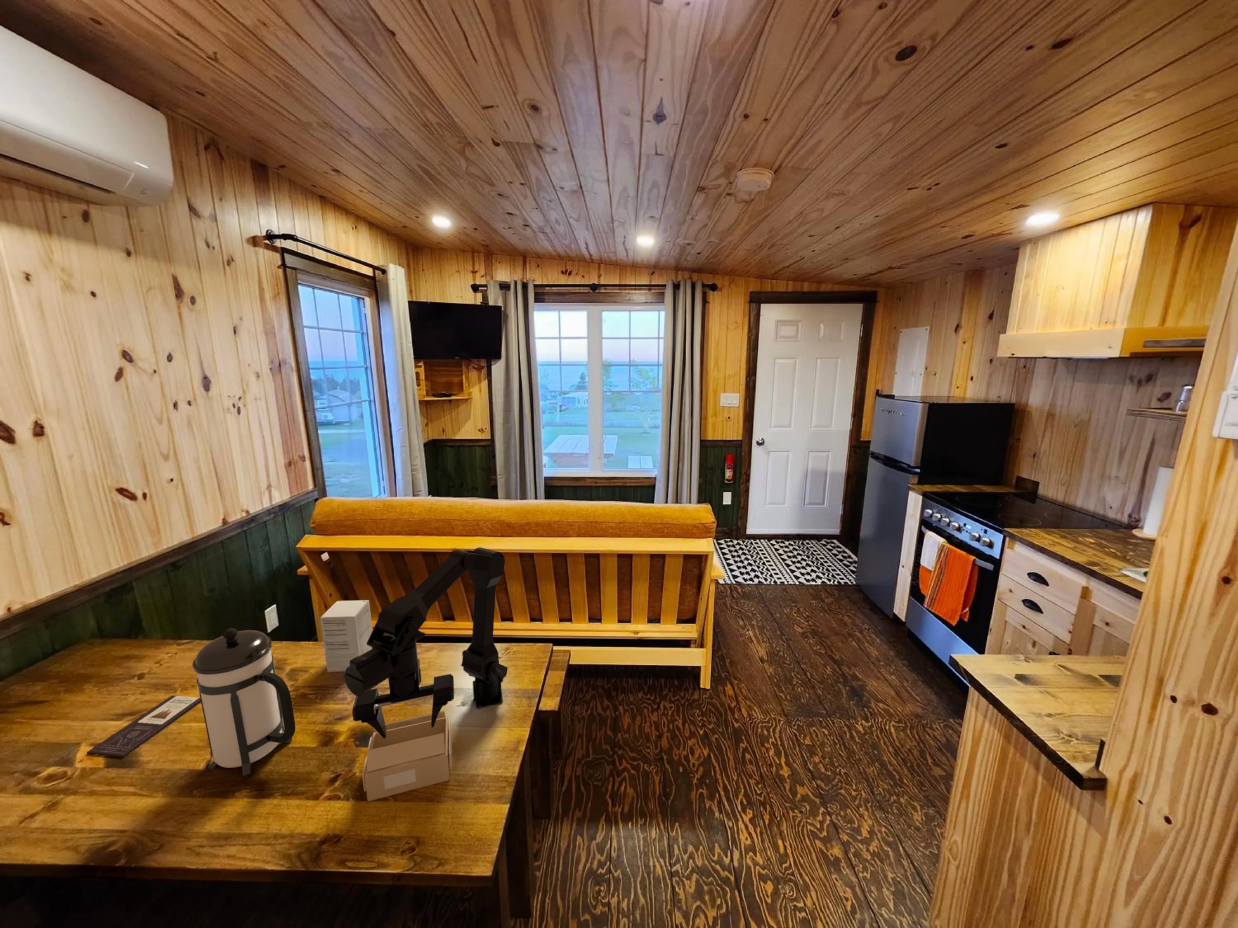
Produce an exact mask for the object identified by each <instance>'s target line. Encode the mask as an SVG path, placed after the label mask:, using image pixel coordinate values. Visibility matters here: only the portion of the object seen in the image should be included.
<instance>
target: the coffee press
mask: <svg viewBox="0 0 1238 928" xmlns="http://www.w3.org/2000/svg"><path fill="white" fill-rule="evenodd" d="M272 647H273V641H272V639H271V637H270V636H267V635H266V634H265V633H264V632H262V631H259V630H253V629H251V630H250V629H246V630H240V631H239V630H237V629H236V628H234V627H233V628H232V627H231V628H227V629H226V630H225V631H224V632H223V635H221V636H219V637H217V638H215V639H213V640H211V641H209V642H208V643H206V644H205V645H204V646H202V647H201V649H200V650H199V651H198V652H197V654H196V656H195V658H194V659H193V661H192V670H193V671H194V672H195V673H196V676H197V678H196V685H197V688H198V693H199V698H200V699H201V709H202V712H203V718H204V719H203V720H204V723H205V728H206V733H207V739H208V744H209V748H210V749H209V750H210V755H211V756H210V757H209V758H208V760H207V762H206V765H205V768H206V769H207V770H212V769H214V768H216V766H217V765H218V766H220V767H223V768H228V769H229V768H231V769H232V768H238V767H241V768H242V770H241V771H242V774H241V775H242V778H243V779H245V778H247V777H250V776H252V775H253V763H255V762H256V761H259V760H261V759H262V758H264V757H265V756H266V755H267V756H268V754H270V752H272V751H273V750H274V749H275V748H276V747H277V746H278V745H279V744H283V743H284V744H290V743H291V742H292V741H293V736H294V735H295V733H296V722H295V721H296V720H295V715H294V708H293V702H292V697H291V696H292V695H291V692H290V689H289V687H288V685H287V683H286V681H285V680H284V679H283V678H282V677H281V676H279V675H278V674H277V672H276V667H275V660H274V655H273V653H272V650H271V649H272ZM212 759H213V760H214V763H212V764H210V762H211V761H212Z"/></svg>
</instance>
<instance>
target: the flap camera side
mask: <svg viewBox="0 0 1238 928" xmlns="http://www.w3.org/2000/svg"><path fill="white" fill-rule="evenodd" d="M367 751H368V771H372V770H377V769H381V768H385V767H389V766H393V765H397V764H401V763H405V762H409V761H413V760H417V759H421V758H426V757H430V756H434V755H438V754H442V753H445V746H444V733H441V734H436V735H432V736H428V737H423V738H419V739H415V740H410V741H406V742H402V743H398V744H393V745H389V746H385V747H380V748H376V749H372V750H368V749H367Z"/></svg>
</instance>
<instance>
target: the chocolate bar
mask: <svg viewBox="0 0 1238 928" xmlns="http://www.w3.org/2000/svg"><path fill="white" fill-rule="evenodd" d="M200 703H201V699H200V697H193V696H181V695H170V696H169V697H167V698H166V699H164V700H162V702H160V703H158V704H157V705H156V706H153V708H151V709H149V710H148V711H147V712H145V713H143V714H142V715H140V716H139V717H137V718H136V719H134V720H132V721H131V722H130V723H128V724H127V725H126V726H124V727H122V728H121V729H119V730H117V732H114V734H111V735H110V736H109V737H107V738H105V739H104V740H103V741H101V742H100V743H98V744H97V745H96V746H93V747H92V748H91V749H89V750H88V751H86V754H87V755H91V754H98V755H97V756H101V755H109V756H108V757H112V756H118V757H117V758H123V757H125V758H126V757H128V756H129V755H130V754H131V753H130V752H132V751H133V750H134V749H136V748H137V749H138V748H140V747H141V746H143V745H144V744H145V743H147V742H148V741H149V740H151V739H152V738H154V737H155V736H156V735H158V734H159V733H161V732H162V731H163V730H165V729H167V727H169V726H171V725H172V724H173V723H175V722H176V721H177V720H179V719H180V718H181V717H183V716H184V715H186V714H188V712H190V711H191V710H192V709H194V708H195V707H196V706H198V705H199V704H200ZM142 744H143V745H142ZM140 745H141V746H140ZM139 746H140V747H139ZM137 749H136V750H137ZM134 751H135V750H134ZM134 751H133V752H134ZM133 752H132V753H133ZM129 753H130V754H129ZM128 754H129V755H128Z"/></svg>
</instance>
